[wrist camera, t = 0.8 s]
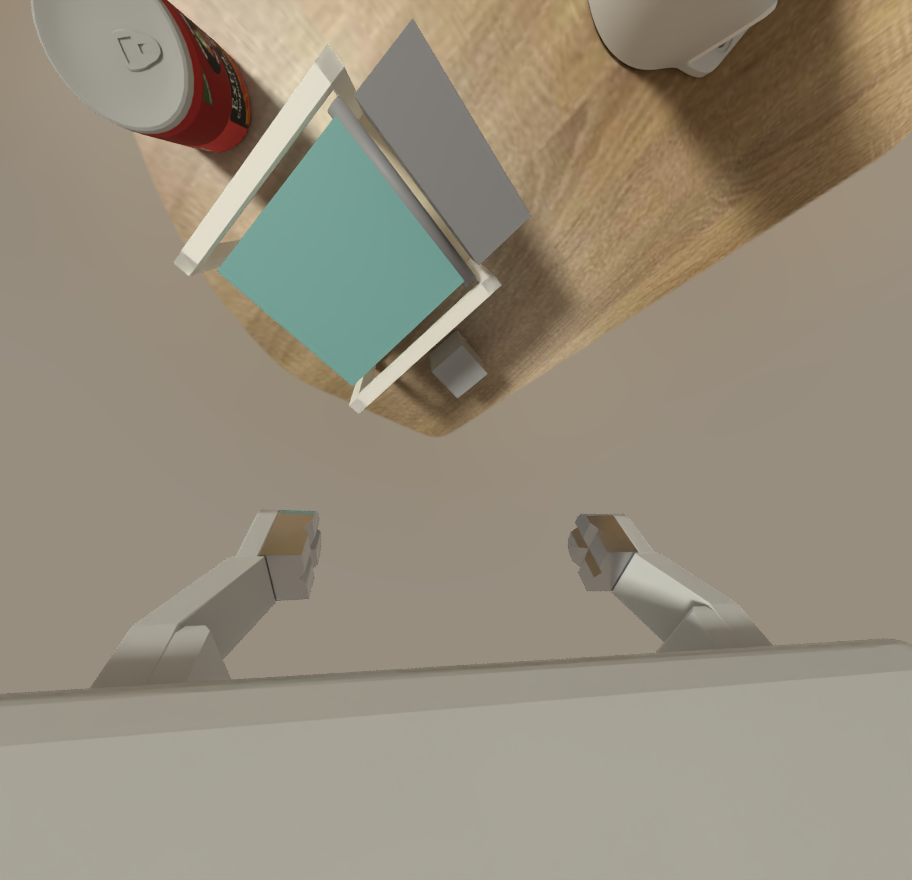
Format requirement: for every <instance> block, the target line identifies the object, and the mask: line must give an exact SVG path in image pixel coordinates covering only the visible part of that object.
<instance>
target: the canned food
mask: <svg viewBox="0 0 912 880" xmlns="http://www.w3.org/2000/svg"><path fill="white" fill-rule="evenodd" d="M31 9H32V15H33V21H34V24H35V28H36V31H37V34H38V37H39V40H40V42H41V44H42V47H43V49H44V51H45V53H46V55H47V57H48V59H49V60H50V62H51V64H52V65H53V67H54V69H55V70H56V72H57V74H58V75H59V76H60V77H61V79H62V80H63V81H64V82H65V84H66V85H67V86H68V87H69V89H70V90H71V91H72V92H73V93H74V94H75V95H76V96H77V97H78V98H79V99H80V100H81V101H82V102H83V103H84V104H86V105H87V106H88V107H89V108H90V109H92V110H93V111H94V112H95V113H97V114H98V115H100V116H102V117H103V118H105V119H107V120H108V121H110V122H112V123H114V124H117V125H118V126H120V127H123V128H125V129H128V130H130V131H133V132H137V133H140V134H143V135H147V136H150V137H154V138H158V139H162V140H166V141H169V142H173V143H177V144H181V145H185V146H188V147H192V148H196V149H200V150H204V151H209V152H223V151H226V150H230V149H231V148H233V147H235V146H236V145H237V144H238V143H239V142H240V141H241V140H242V139H243V138H244V136H245V135H246V133H247V131H248V128H249V124H250V117H251V108H250V100H249V96H248V92H247V88H246V85H245V83H244V81H243V78H242V76H241V74H240V72H239V70H238V68H237V67H236V65H235V63H234V62H233V61H232V59H231V58H230V57H229V55H228V54H227V53H226V52H225V51H224V50H223V49H222V48H221V47H220V46H219V45H218V44H217V43H216V42H215V41H214V40H213V39H212V38H211V37H209V36H208V35H207V34H206V33H205V32H204V31H202V30H201V29H200V28H199V27H198V26H197V25H195V24H194V23H193V22H192V21H191V20H190V19H188V18H187V17H186V16H185V15H184V14H183V13H182V12H180V11H179V10H178V9H177V8H176V7H175V6H173V5H172V4H171V3H170V2H169V1H168V0H31Z"/></svg>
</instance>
